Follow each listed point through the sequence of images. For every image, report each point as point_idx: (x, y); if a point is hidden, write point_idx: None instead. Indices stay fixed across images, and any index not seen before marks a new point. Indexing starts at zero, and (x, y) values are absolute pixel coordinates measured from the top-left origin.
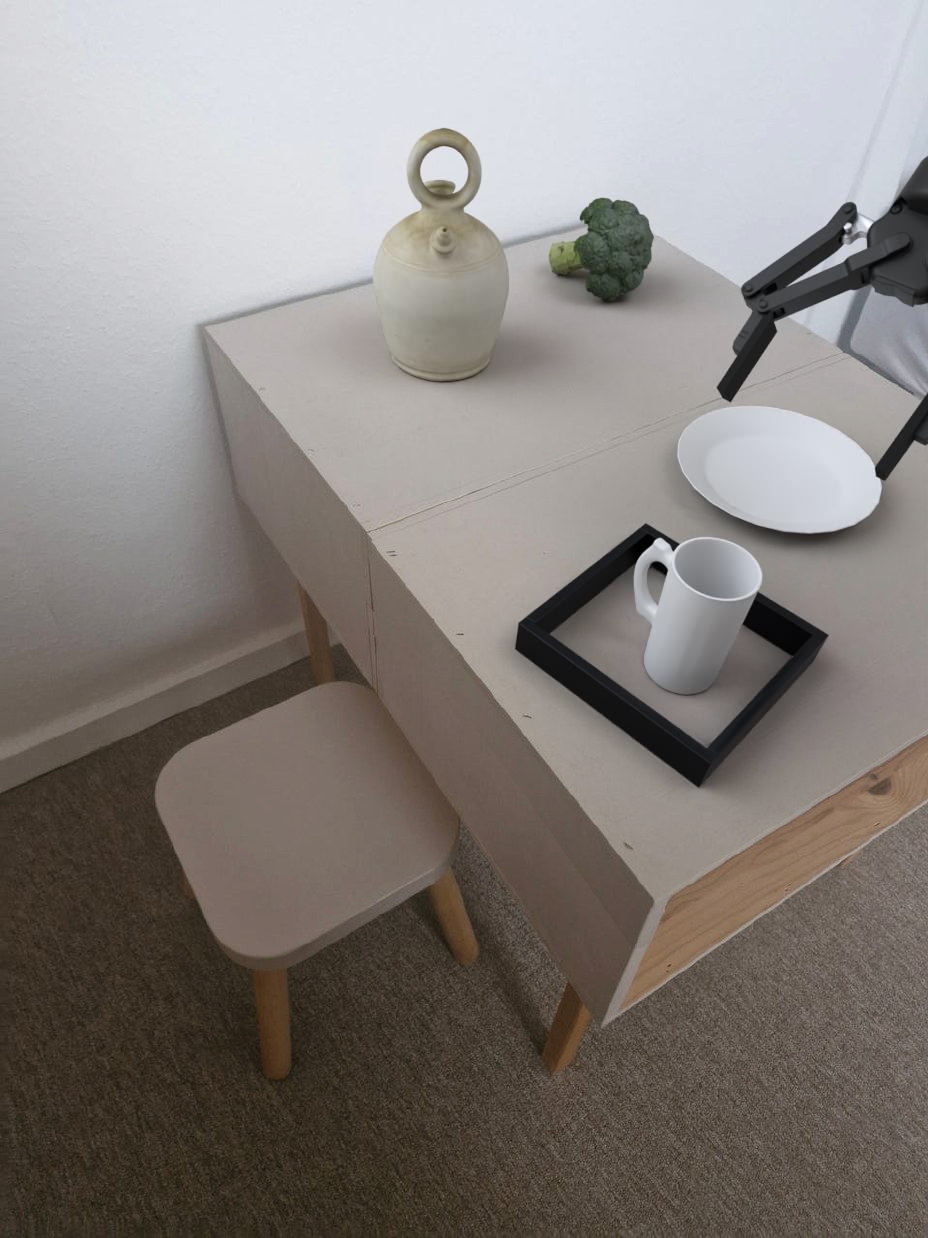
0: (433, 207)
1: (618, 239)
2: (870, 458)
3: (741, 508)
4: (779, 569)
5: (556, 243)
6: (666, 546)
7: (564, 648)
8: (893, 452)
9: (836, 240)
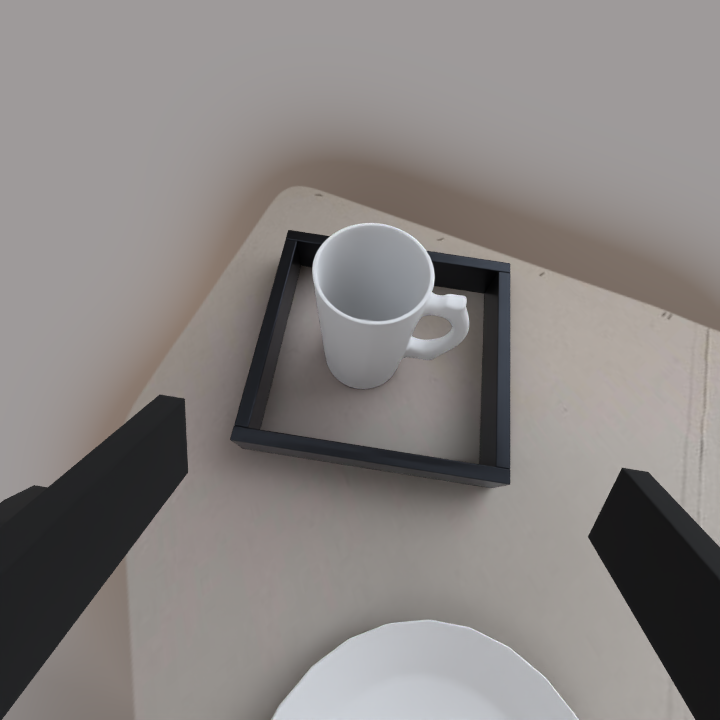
0: None
1: None
2: None
3: (428, 684)
4: (327, 582)
5: None
6: (448, 299)
7: (457, 261)
8: (137, 422)
9: None
